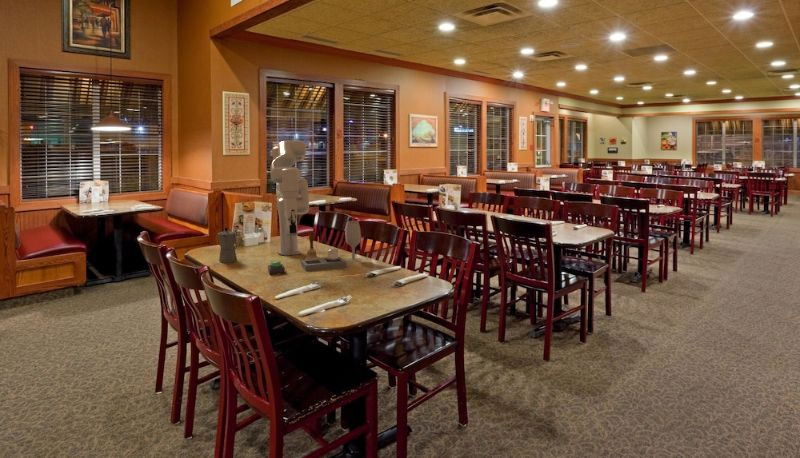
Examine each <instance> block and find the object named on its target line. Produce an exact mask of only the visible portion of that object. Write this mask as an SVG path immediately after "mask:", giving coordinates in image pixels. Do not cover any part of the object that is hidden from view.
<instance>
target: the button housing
mask: <svg viewBox="0 0 800 458" xmlns="http://www.w3.org/2000/svg"><path fill="white" fill-rule="evenodd" d="M285 270H286V269H285V265H284V264H283V263H281V267H277V268H271V264H270V265H269V264H268V265H267V272H268V274H269V275H270V276H273V275H280V274H281V275H282V274H283V275H284V274H286V271H285Z"/></svg>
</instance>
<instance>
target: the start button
mask: <svg viewBox="0 0 800 458" xmlns="http://www.w3.org/2000/svg"><path fill="white" fill-rule="evenodd" d="M281 264H282V263H281V261H279V260H275V261H271V264H270V265H271V268H277V267H281Z"/></svg>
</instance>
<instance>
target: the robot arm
mask: <svg viewBox="0 0 800 458" xmlns="http://www.w3.org/2000/svg"><path fill="white" fill-rule="evenodd" d="M306 154H307V146H306V143H305V141H302V140H297V139H296V140H282V141H280V142H279V143H278V144H277V146H274V147H272V150H271V155H272V159H273V160H272V162H271V164H270V179H271V182H273V183H275V184H278V190H279V193H280V194H281V195H282V198H279V199H278V200H277V202H276V208H277V212H278V218H279V219H278V220H279V221H278V223H279V238H280V239H279V241H280V250H278V252H277V255H279V256H294V255H295V256H296V255H299V254H301V253H302V252H301V250H300V249H299V244H298V235H295V236H288V235H287V225H286V218H287V219H290V225H289V229H290V233H297V234H298V229H297V230H296V218H297V219H298V215H306V214H308V213H309V211H310V198H309V197H310V195H309V185H308V184H309V183H308V181H307V179H306V178H304V177H302V173H301V170H300V168H298V167H295V166H294V165H295V163H296V162H303V161H304V160H305V158H306ZM293 166H294V167H293Z"/></svg>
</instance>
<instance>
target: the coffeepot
mask: <svg viewBox="0 0 800 458" xmlns="http://www.w3.org/2000/svg"><path fill="white" fill-rule="evenodd" d="M216 235H217V239H218V242H219V246H220V249H219V258H218V261H219V262H220V263H222V262H224V264H226V263H227V264H228V263H234V262H237V261H238V258H237V254H236V253H237V252H236V249H235V244H236V243H235V242H236V232H235V231H232V230H230V229H229V228H228V227H224V231H220V232H217V234H216Z"/></svg>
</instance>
